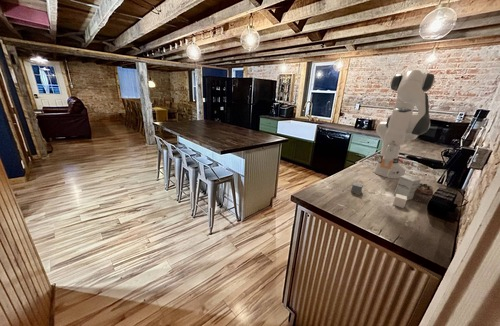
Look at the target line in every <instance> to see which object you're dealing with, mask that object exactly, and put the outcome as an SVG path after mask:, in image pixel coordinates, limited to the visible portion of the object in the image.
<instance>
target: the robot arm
mask: <svg viewBox="0 0 500 326" xmlns="http://www.w3.org/2000/svg"><path fill="white" fill-rule="evenodd" d="M435 81H436V79H435V75H434V74H433V73H429V72H427V73H425V72H422V71H421V70H419V69H412V70H409V71H408V72H406V73H396V74H395V75H393V77H392V78H391V80H390V82H389V83H390V84H389V85H390V89H391V90H392V91H394V92H397V93H396V95H397V97H396V99H395V103H394V105H393V109H392V113H391V115H389V116H387V119H386V120H387V121H381V122H379V123H378V124H377V125H376V128H375V131H376V134H377V135H378V136H379V138H380V139H381V143H382V146H381V151H380V154H379V155H378V159H377V163H376V165H375V167H374V169H373V170H372V173H374V174H376V175H378V176H381V177H384V178H385V177H386V178H388V179H400V176H404V175H406V174H405V173H406V170H405V167H404V166H402V164H400V163H402V162H403V161H404V160H403V158H399V155H400V151H401V147H400V146H403V145H404V142H405V141H413V140H415V139H417V138H418V137H419V136H421V135H423V134H425V133H428V131H429V129H430V128H431V118H430V117H431V116H430V113H429V112H430V105H429V102H430V101H429V95H428V93H427V92H428V91H429V90H431V88H432V87H433V86H434V84H435ZM415 107H416V108H417V113H418V114H417V115H416V114H414V108H415ZM383 156H384V160H385V164H384V166H388V164H389V162H390V161H392V159H393V158H394V160H393V164H392V167H391V169H387V168H382V167H380V165H381V162H382V158H383Z"/></svg>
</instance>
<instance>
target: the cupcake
mask: <svg viewBox="0 0 500 326" xmlns="http://www.w3.org/2000/svg"><path fill="white" fill-rule="evenodd" d="M432 195H433V196H434V187H433V186H431V185H428V184H427V183H421V182H420V183H419V186H418V188H417V190H416V191H415V194H414V197H413V199H412V200H414V201H416V202H418V203H423V204H426V203H427V204H428V203H429V202H430V200H431V199H432V198H433V196H432ZM431 197H432V198H431Z"/></svg>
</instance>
